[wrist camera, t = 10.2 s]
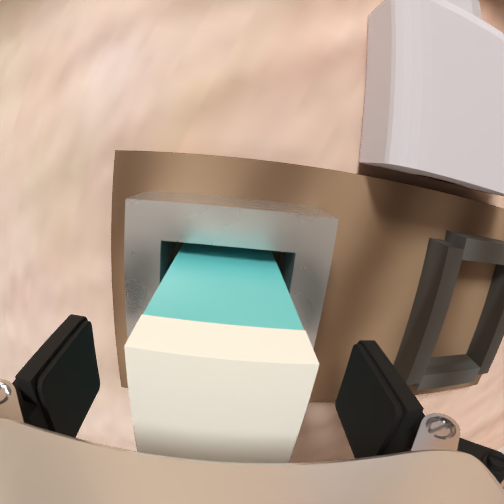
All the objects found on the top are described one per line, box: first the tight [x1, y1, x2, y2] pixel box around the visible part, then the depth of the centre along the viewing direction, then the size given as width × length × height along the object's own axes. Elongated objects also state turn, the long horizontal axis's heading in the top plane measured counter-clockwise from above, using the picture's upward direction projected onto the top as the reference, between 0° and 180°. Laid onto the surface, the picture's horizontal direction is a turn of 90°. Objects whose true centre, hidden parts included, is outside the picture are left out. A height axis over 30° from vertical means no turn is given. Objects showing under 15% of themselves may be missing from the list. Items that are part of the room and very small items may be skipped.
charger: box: [359, 0, 504, 196], centre depth 13 cm, size 5×9×15 cm
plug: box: [124, 243, 319, 463], centre depth 12 cm, size 4×6×10 cm, turn 173°
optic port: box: [124, 191, 339, 349], centre depth 15 cm, size 8×10×4 cm
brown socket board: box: [111, 150, 504, 402], centre depth 17 cm, size 27×14×3 cm, turn 84°
